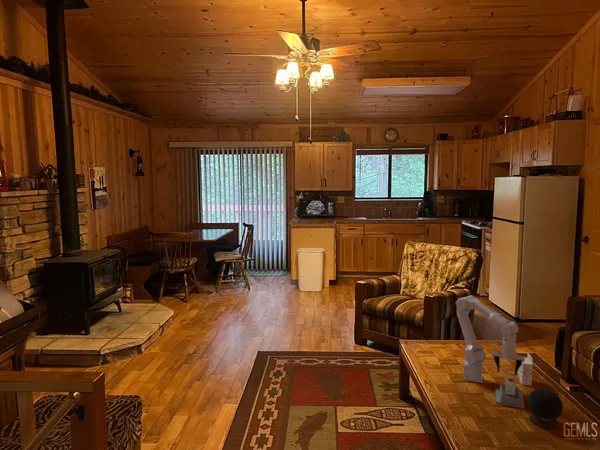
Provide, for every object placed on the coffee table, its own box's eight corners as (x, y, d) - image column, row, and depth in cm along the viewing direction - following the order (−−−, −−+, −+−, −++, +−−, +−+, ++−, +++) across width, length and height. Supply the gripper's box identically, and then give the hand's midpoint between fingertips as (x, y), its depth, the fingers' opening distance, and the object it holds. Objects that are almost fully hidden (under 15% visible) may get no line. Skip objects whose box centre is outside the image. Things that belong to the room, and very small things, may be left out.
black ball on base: (547, 433, 178) (549, 400, 176) (520, 417, 190) (522, 385, 188) (568, 426, 183) (570, 393, 181) (540, 411, 195) (542, 380, 193)
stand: (495, 403, 202) (496, 394, 201) (495, 390, 214) (495, 382, 213) (524, 408, 197) (524, 400, 197) (522, 395, 209) (522, 387, 208)
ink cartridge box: (516, 377, 228) (518, 351, 226) (526, 378, 227) (528, 351, 225) (521, 384, 219) (523, 357, 218) (531, 385, 219) (533, 358, 217)
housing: (504, 385, 210) (505, 374, 209) (513, 387, 208) (514, 376, 208) (505, 394, 202) (506, 383, 201) (515, 396, 200) (515, 384, 199)
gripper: (492, 347, 208) (490, 373, 210) (525, 352, 202) (523, 379, 204) (492, 342, 215) (491, 367, 216) (524, 346, 209) (523, 373, 211)
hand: (507, 372), depth 211 cm, fingers open, 7 cm apart
